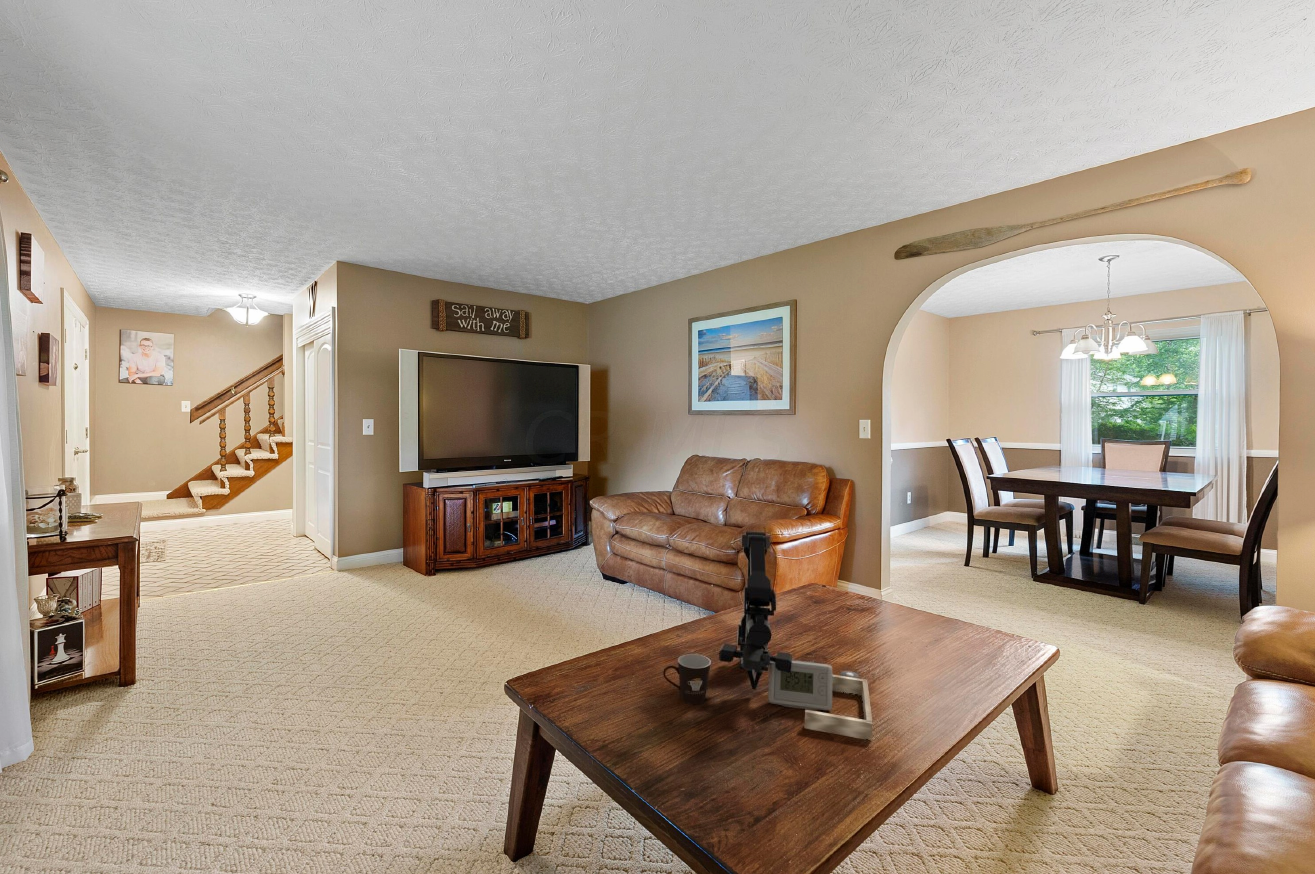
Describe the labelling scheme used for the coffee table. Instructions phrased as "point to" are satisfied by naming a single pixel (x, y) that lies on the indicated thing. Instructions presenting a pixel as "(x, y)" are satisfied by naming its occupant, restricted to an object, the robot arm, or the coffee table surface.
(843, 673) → the wheel
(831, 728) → the bay
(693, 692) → the coffee mug
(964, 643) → the coffee table surface
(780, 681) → the digital clock
